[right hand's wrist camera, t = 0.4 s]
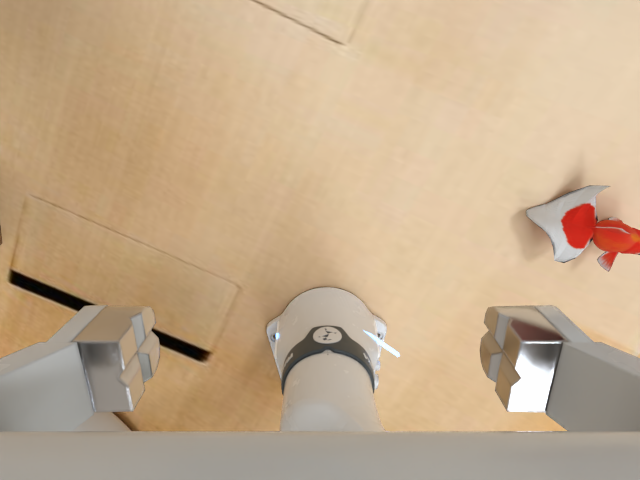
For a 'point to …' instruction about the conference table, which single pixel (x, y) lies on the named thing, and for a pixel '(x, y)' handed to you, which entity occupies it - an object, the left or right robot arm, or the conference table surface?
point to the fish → (583, 227)
